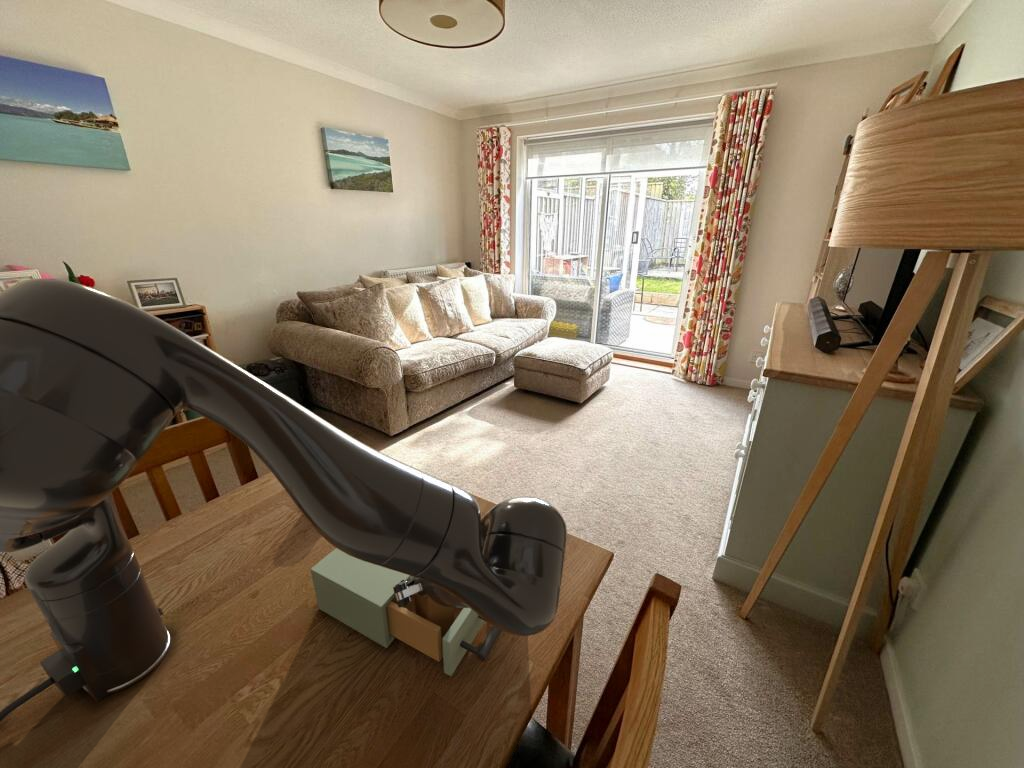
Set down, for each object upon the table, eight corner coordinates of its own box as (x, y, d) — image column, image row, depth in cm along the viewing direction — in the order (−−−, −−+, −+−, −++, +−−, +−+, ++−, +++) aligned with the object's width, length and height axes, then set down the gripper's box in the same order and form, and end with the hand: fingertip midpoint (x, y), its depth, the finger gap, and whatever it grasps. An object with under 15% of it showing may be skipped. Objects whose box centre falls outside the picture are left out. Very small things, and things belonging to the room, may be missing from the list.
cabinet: (433, 590, 70) (431, 552, 67) (386, 648, 60) (381, 607, 57) (370, 560, 76) (365, 523, 73) (318, 608, 66) (310, 569, 63)
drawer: (511, 627, 63) (512, 596, 60) (477, 691, 54) (476, 657, 52) (420, 584, 70) (418, 554, 68) (377, 634, 61) (372, 602, 59)
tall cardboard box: (438, 600, 66) (435, 543, 61) (455, 629, 61) (452, 570, 57) (415, 612, 64) (410, 554, 59) (430, 643, 59) (426, 582, 55)
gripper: (414, 635, 43) (388, 626, 57) (523, 577, 50) (477, 581, 64) (394, 564, 45) (373, 572, 59) (501, 518, 52) (461, 535, 66)
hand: (427, 577), depth 61 cm, fingers closed on tall cardboard box, 4 cm apart
